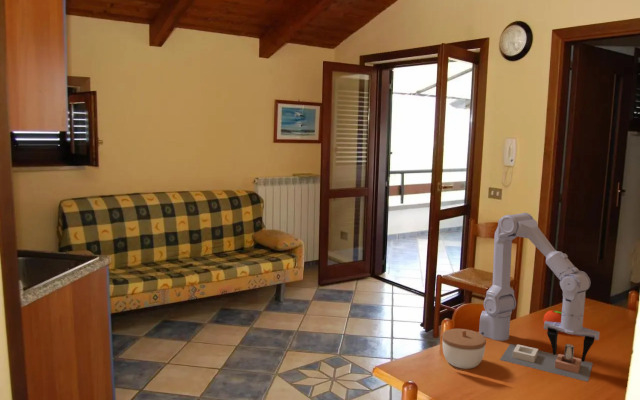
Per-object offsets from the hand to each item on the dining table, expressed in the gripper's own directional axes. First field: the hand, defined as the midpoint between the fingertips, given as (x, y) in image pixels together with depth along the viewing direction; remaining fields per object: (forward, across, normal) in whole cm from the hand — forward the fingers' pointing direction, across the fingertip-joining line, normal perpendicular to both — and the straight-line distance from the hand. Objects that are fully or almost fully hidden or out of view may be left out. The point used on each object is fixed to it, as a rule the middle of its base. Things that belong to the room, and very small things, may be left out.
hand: (568, 356), depth 151 cm
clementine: (+4, -8, +31) cm, 32 cm away
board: (+4, -6, 0) cm, 7 cm away
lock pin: (+3, 0, 0) cm, 3 cm away
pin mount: (+3, -12, 0) cm, 12 cm away
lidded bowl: (+4, -27, -15) cm, 31 cm away
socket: (+3, 0, 0) cm, 3 cm away
